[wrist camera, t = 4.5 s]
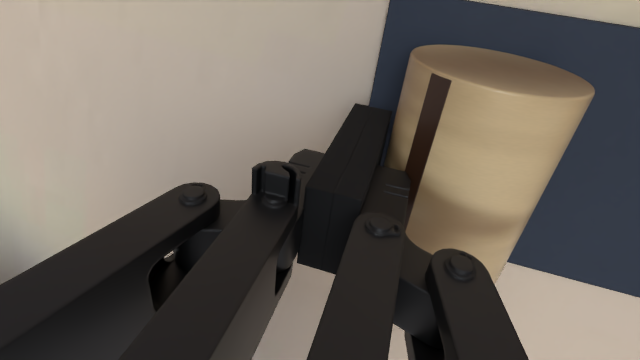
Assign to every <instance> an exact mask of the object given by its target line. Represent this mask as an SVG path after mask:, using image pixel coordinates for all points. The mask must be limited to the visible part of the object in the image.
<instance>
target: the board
mask: <svg viewBox="0 0 640 360" xmlns="http://www.w3.org/2000/svg"><path fill="white" fill-rule="evenodd" d="M425 45H459V46H469V47H476V48H483V49H489V50H495V51H500V52H505V53H510V54H514V55H518V56H522V57H526V58H530V59H533V60H537V61H540V62H544V63H547V64H550V65H553V66H556V67H558V68H561V69H564V70H566V71H568V72H571V73H573V74H575V75H577V76H579V77H581V78H582V79H584V80H586V81H587V82H588V83H590V84H591V85H592V86H593V87H594V89H595V94H594V97H593V99H592V101H591V102H590V104H589V106H588V108H587V110H586V112H585V114H584V116H583V118H582V120H581V121H580V123H579V125H578V127H577V129H576V131H575V133H574V135H573V137H572V139H571V140H570V142H569V144H568V146H567V148H566V150H565V152H564V154H563V156H562V158H561V160H560V161H559V163H558V165H557V167H556V169H555V171H554V173H553V175H552V177H551V179H550V180H549V182H548V184H547V186H546V188H545V190H544V192H543V194H542V196H541V198H540V199H539V201H538V203H537V205H536V207H535V209H534V211H533V213H532V215H531V217H530V218H529V220H528V222H527V224H526V226H525V228H524V230H523V232H522V234H521V236H520V237H519V239H518V241H517V243H516V245H515V247H514V249H513V251H512V253H511V255H510V256H509V258H508V260H507V262H509V263H513V264H517V265H521V266H524V267H528V268H532V269H535V270H539V271H543V272H547V273H550V274H554V275H558V276H562V277H565V278H569V279H573V280H576V281H580V282H584V283H588V284H591V285H595V286H599V287H603V288H606V289H610V290H614V291H617V292H621V293H625V294H629V295H632V296H636V297H640V28H638V27H631V26H625V25H619V24H612V23H606V22H600V21H593V20H587V19H581V18H575V17H568V16H562V15H556V14H549V13H543V12H537V11H530V10H524V9H518V8H511V7H505V6H499V5H493V4H486V3H480V2H474V1H467V0H390V4H389V9H388V14H387V19H386V24H385V29H384V34H383V39H382V44H381V49H380V54H379V59H378V64H377V69H376V74H375V79H374V84H373V89H372V94H371V99H370V104H369V106H370V107H375V108H380V109H384V110H389V111H392V115H391V119H390V124H389V128H388V132H387V137H386V141H385V145H384V150H383V154H382V158H381V163H380V166H384V162H385V158H386V154H387V149H388V145H389V141H390V137H391V133H392V128H393V124H394V120H395V116H396V112H397V107H398V103H399V99H400V95H401V91H402V86H403V82H404V78H405V74H406V70H407V65H408V61H409V57H410V53H411V51H412V50H413V49H415V48H417V47H420V46H425Z"/></svg>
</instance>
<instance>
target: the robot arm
mask: <svg viewBox="0 0 640 360" xmlns="http://www.w3.org/2000/svg"><path fill="white" fill-rule="evenodd" d="M391 115H392V111H389V110H384V109H380V108H375V107H370V106H365V105H360V104H356V103H355V105H354V107H353V108H352V110H351V112H350V113H349V115H348V117H347V118H346V120H345V122H344V123H343V125H342V127H341V128H340V130H339V131H338V133H337V135H336V136H335V138H334V140H333V141H332V143H331V145H330V146H329V148H328V150H327V151H326V153H325V154H324V153H320V152H316V151H312V150H308V149H304V150H302V151H300V152H298V153H295V154H294V155H293V157H292V158H291V159H290V161H289V163H286V162H280V161H266V162H263V163H259V164H257V165H256V166H254V167H253V168H252V194H251V196H250V197H249V198H248V199H247V200H240V201H235V200H220V194H219V192H218V190H217V189H216V188H214V187H213V186H212V185H208V184H205V183H188V184H183V185H181V186H178V187H176V188H174V189H172V190H170V191H168V192H167V193H165V194H163V195H161V196H159V197H158V198H156V199H154V200H152V201H150V202H149V203H147V204H145V205H143V206H141V207H140V208H138V209H136V210H134V211H132V212H131V213H129V214H127V215H125V216H123V217H122V218H120V219H118V220H116V221H114V222H113V223H111V224H109V225H107V226H105V227H104V228H102V229H100V230H98V231H96V232H95V233H93V234H91V235H89V236H87V237H86V238H84V239H82V240H80V241H79V242H77V243H75V244H73V245H71V246H70V247H68V248H66V249H64V250H62V251H61V252H59V253H57V254H55V255H53V256H52V257H50V258H48V259H46V260H44V261H43V262H41V263H39V264H37V265H35V266H34V267H32V268H30V269H28V270H26V271H25V272H23V273H21V274H19V275H17V276H16V277H14V278H12V279H10V280H8V281H7V282H5V283H3V284H1V285H0V360H251V359H252V357H253V355H254V353H255V350H256V348H257V346H258V344H259V342H260V340H261V338H262V336H263V334H264V332H265V329H266V327H267V325H268V323H269V321H270V319H271V317H272V315H273V313H274V311H275V308H276V306H277V304H278V302H279V300H280V298H281V296H282V294H283V292H284V289H285V287H286V285H287V283H288V281H289V279H290V277H291V273H292V266H293V261H294V259H295V257H296V255H297V253H298V258H297V263H299V264H302V265H306V266H309V267H313V268H316V269H319V270H323V271H326V272H330V273H333V274H336V276H335V279H334V282H333V285H332V287H331V290H330V293H329V296H328V299H327V302H326V305H325V308H324V311H323V314H322V317H321V319H320V322H319V325H318V328H317V331H316V334H315V337H314V340H313V343H312V346H311V348H310V351H309V354H308V357H307V360H388V354H389V347H390V340H391V333H392V326H393V324H395V325H397V326H398V327H400V328H401V329H403V330H405V341H406V347H407V353H408V359H409V360H529V359H528V357H527V355H526V353H525V351H524V348H523V346H522V344H521V342H520V340H519V337H518V335H517V333H516V331H515V329H514V326H513V324H512V322H511V320H510V318H509V316H508V313H507V311H506V309H505V307H504V305H503V302H502V300H501V298H500V296H499V294H498V291H497V289H496V287H495V285H494V283H493V281H492V278H491V276H490V274H489V272H488V270H487V269H486V267H485V266H484V265H483V263H482V262H480V261H479V260H478V259H477V258H476V257H474V256H473V255H471V254H468V253H466V252H464V251H461V250H457V249H453V248H448V249H441V250H438V251H436V252H435V253H434V254H433V255H432V254H431V253H429V252H427V251H425V250H423V249H421V248H420V247H418V246H416V245H415V244H414V243H413V242H412V241H411V240H410V239H409V238H408V236H407V235H406V232H405V228H404V224H405V217H406V211H407V204H408V197H409V190H410V183H411V180H410V178H409V177H408V175H407V173H406V172H405V171H401V170H397V169H393V168H388V167H384V166H380V163H381V158H382V154H383V150H384V145H385V141H386V137H387V132H388V128H389V124H390V119H391ZM171 251H174V253H173V254H172V255H171V256H169V257H167V258H165V259H164V256H166V255H167V254H168V253H170V252H171Z"/></svg>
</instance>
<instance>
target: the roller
mask: <svg viewBox="0 0 640 360" xmlns="http://www.w3.org/2000/svg"><path fill="white" fill-rule="evenodd" d="M594 94H595V89H594V87H593V86H592V85H591V84H590V83H588V82H587V81H586V80H584V79H582V78H581V77H579V76H577V75H575V74H573V73H571V72H568V71H566V70H564V69H561V68H558V67H556V66H553V65H550V64H547V63H544V62H540V61H537V60H533V59H530V58H526V57H522V56H518V55H514V54H510V53H505V52H500V51H495V50H489V49H483V48H476V47H469V46H459V45H425V46H420V47H417V48H415V49H413V50H412V51H411V53H410V57H409V61H408V65H407V70H406V74H405V78H404V82H403V86H402V91H401V95H400V99H399V103H398V107H397V112H396V116H395V120H394V124H393V128H392V133H391V137H390V141H389V145H388V149H387V154H386V158H385V162H384V167H388V168H393V169H397V170H401V171H405V172H406V173H407V175H408V177H409V178H410V180H411V183H410V190H409V197H408V204H407V211H406V217H405V224H404V228H405V232H406V235H407V236H408V238H409V239H410V240H411V241H412V242H413V243H414V244H415V245H416V246H418V247H420V248H421V249H423V250H425V251H427V252H429V253H431V254H432V255H433V254H434V253H435V252H436V251H438V250H441V249H448V248H453V249H457V250H461V251H464V252H466V253H468V254H471V255H473V256H474V257H476V258H477V259H478V260H479V261H480V262H482V263H483V265H484V266H485V267H486V269H487V270H488V272H489V274H490V276H491V278H492V281H493V283H494V285H495V283H496V281H497V279H498V277H499V276H500V274H501V272H502V270H503V268H504V266H505V264H506V262H507V260H508V258H509V256H510V255H511V253H512V251H513V249H514V247H515V245H516V243H517V241H518V239H519V237H520V236H521V234H522V232H523V230H524V228H525V226H526V224H527V222H528V220H529V218H530V217H531V215H532V213H533V211H534V209H535V207H536V205H537V203H538V201H539V199H540V198H541V196H542V194H543V192H544V190H545V188H546V186H547V184H548V182H549V180H550V179H551V177H552V175H553V173H554V171H555V169H556V167H557V165H558V163H559V161H560V160H561V158H562V156H563V154H564V152H565V150H566V148H567V146H568V144H569V142H570V140H571V139H572V137H573V135H574V133H575V131H576V129H577V127H578V125H579V123H580V121H581V120H582V118H583V116H584V114H585V112H586V110H587V108H588V106H589V104H590V102H591V101H592V99H593V97H594Z"/></svg>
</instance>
